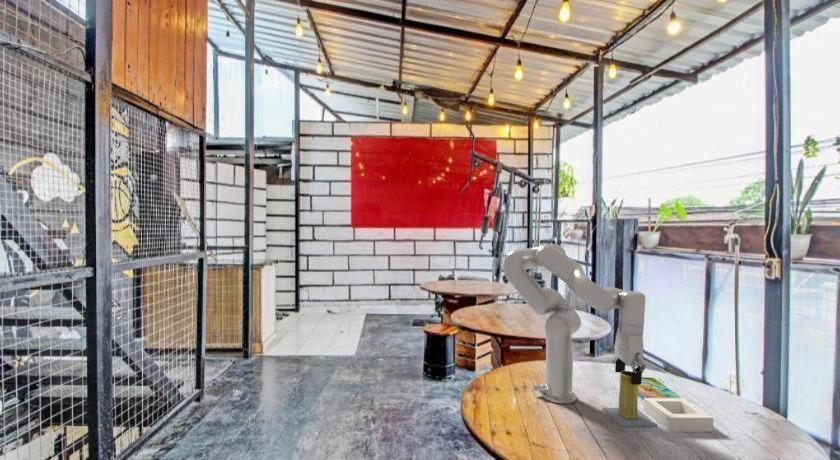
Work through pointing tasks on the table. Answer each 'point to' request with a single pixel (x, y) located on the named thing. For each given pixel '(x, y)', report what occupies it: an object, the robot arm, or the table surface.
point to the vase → (628, 397)
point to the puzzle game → (654, 389)
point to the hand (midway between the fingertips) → (627, 377)
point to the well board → (678, 415)
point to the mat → (623, 422)
